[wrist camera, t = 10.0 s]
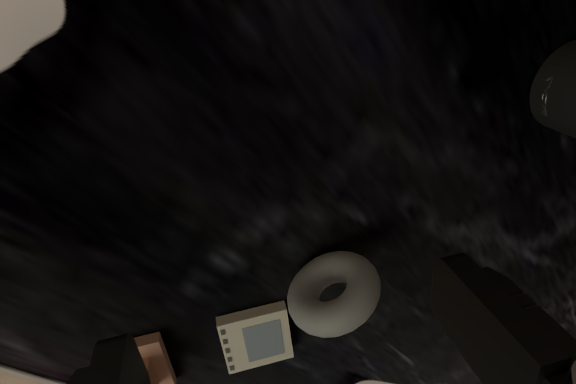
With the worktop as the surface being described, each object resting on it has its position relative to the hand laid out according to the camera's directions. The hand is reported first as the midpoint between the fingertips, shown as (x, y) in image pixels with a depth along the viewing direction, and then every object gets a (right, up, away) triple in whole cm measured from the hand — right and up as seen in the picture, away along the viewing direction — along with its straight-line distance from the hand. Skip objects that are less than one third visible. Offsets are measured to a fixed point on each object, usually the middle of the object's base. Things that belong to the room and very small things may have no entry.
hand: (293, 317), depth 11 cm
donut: (+3, -5, +36) cm, 36 cm away
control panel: (-4, -14, +38) cm, 41 cm away
